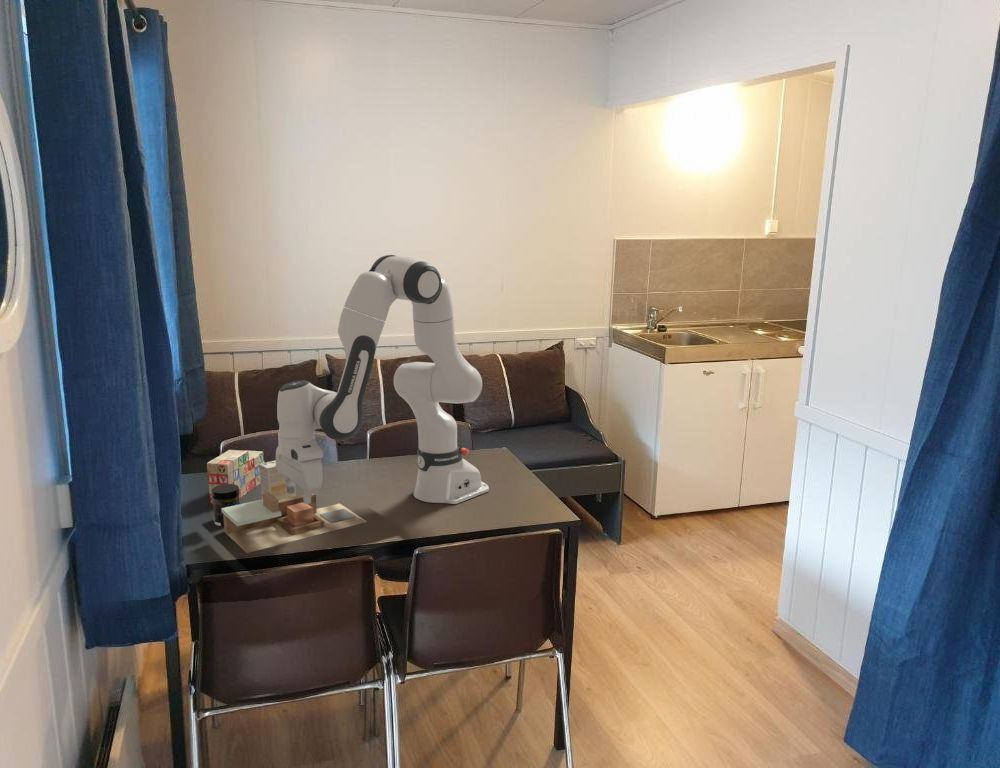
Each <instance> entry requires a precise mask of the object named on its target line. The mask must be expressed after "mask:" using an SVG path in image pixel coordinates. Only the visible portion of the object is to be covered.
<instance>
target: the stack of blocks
mask: <svg viewBox="0 0 1000 768" xmlns="http://www.w3.org/2000/svg"><path fill="white" fill-rule="evenodd" d="M264 455H265V453H264V451H260V450H259V451H257V450H240V449H239V450H237V449H228V450H226V451H225V452H223V453H221V454H219V456H217V457H215V458H213V459H211V460H210V461H208V462H207V463H206V468H207V483H208V496H209V497H208V499H209V504H212V505H213V502H212V488H214V487H216V486H218V485H223V484H234V485H238V486H239V498H240V497H241V498H243V497H244V496H245V495H246V494H248V493H249V492H250V490H251V489H252V490H253V489H255V488H256V487H258V486H259V485H261V481H260V467H259V464H262V463H266V462H265V456H264ZM254 487H255V488H254ZM252 490H251V491H252ZM247 492H248V493H247ZM243 495H244V496H243ZM242 496H243V497H242ZM241 498H240V499H241Z"/></svg>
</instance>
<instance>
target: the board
mask: <svg viewBox="0 0 1000 768" xmlns="http://www.w3.org/2000/svg"><path fill="white" fill-rule="evenodd" d="M303 495H304V493H303V494H298V495H296V496H294V497H289V498H285V499H280V500H278V503H279V511H281V516H279V517H275V518H270V519H266V520H262V521H258V522H253V523H249V524H245V525H241V526H236V525H235V524H234V523H233V522H232V521H231V520H230V519H229V518H228V517H226V516H225V515H224V514H223V517H224V526H223V528H224V530H223V532H224V533H225V534H226V535H227V536H228V537H229V538H230V539H231V540H232V541H234V542H235V543H236V544H237V545H238V546H239V547H240V548H241V549H242V550H243V551H244V552H245V553H246V554H250V553H253V552H257V551H261V550H264V549H267V548H268V549H269V548H272V547H275V546H279V545H283V544H284V545H285V544H288V543H290V542H295V541H299V540H303V539H307V538H310V537H314V536H318V535H322V534H326V533H329V532H334V531H338V530H341V529H345V528H349V527H353V526H354V527H355V526H357V525H360V524H365V523H368V521H367V520H365V518H363V517H361V516H360V515H358V514H357V513H355V512H354V511H352V510H350V509H349V508H347V507H346V506H344V505H343V504H341V503H336V504H332V505H331V504H330V505H327V506H324V507H318V508H317V494H316V493H314V492H313V493H312V496H311V503H310V504H308V505H310V506H311V507H313V518H314V522H313V523H309V524H305V525H301V526H297V527H292V526H290V525H289V524H288V523H287V506H290V505H294V504H299V503H303V502H302V496H303Z"/></svg>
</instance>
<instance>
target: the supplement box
mask: <svg viewBox="0 0 1000 768" xmlns="http://www.w3.org/2000/svg"><path fill="white" fill-rule="evenodd" d="M259 467H260V481H261V483H260V492H261V500H262V499H263V494H265V493H270V494H271V495H273V496H274V497H276V498H277V499H278V500H280V499H285V498H289V497H294V496H297V494H296V492H297V491H296V490H295V493H291V494H289V493H288V492H287V491H286V484H285V481H284V476H283V475H281V474H280V473H278V472H277V470H276V459H275V460H271V461H266V462H265V463H262V464H259ZM293 484H294V486H295V487H296V483H294V482H293Z"/></svg>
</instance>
